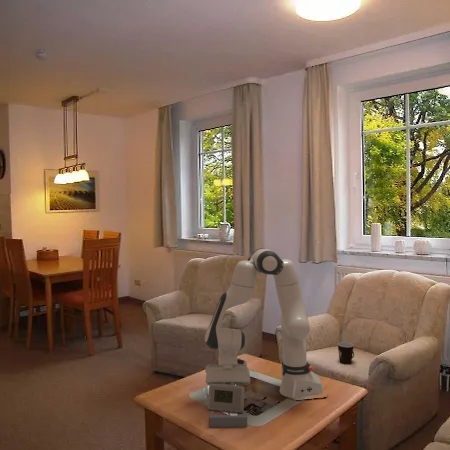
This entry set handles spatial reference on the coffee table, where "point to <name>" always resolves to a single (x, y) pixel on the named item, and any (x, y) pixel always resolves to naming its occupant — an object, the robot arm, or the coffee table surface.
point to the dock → (228, 420)
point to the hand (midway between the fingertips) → (228, 393)
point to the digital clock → (226, 398)
